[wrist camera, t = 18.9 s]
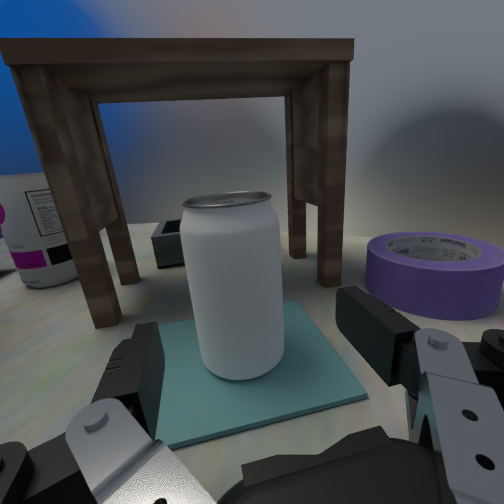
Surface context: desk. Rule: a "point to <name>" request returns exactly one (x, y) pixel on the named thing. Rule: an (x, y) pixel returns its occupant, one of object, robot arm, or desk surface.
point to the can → (235, 281)
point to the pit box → (168, 244)
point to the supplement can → (34, 231)
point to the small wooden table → (171, 89)
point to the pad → (248, 384)
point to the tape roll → (435, 274)
